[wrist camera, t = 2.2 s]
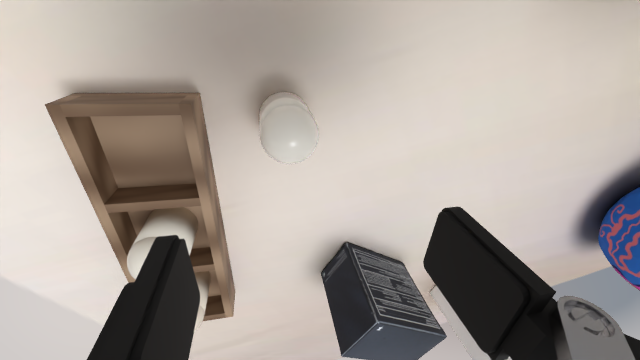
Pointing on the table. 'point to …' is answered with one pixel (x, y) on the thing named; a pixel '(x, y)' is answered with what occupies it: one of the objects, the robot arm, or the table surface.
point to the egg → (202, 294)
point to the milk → (459, 327)
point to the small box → (377, 307)
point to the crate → (148, 173)
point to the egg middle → (161, 233)
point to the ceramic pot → (623, 237)
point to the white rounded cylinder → (287, 128)
